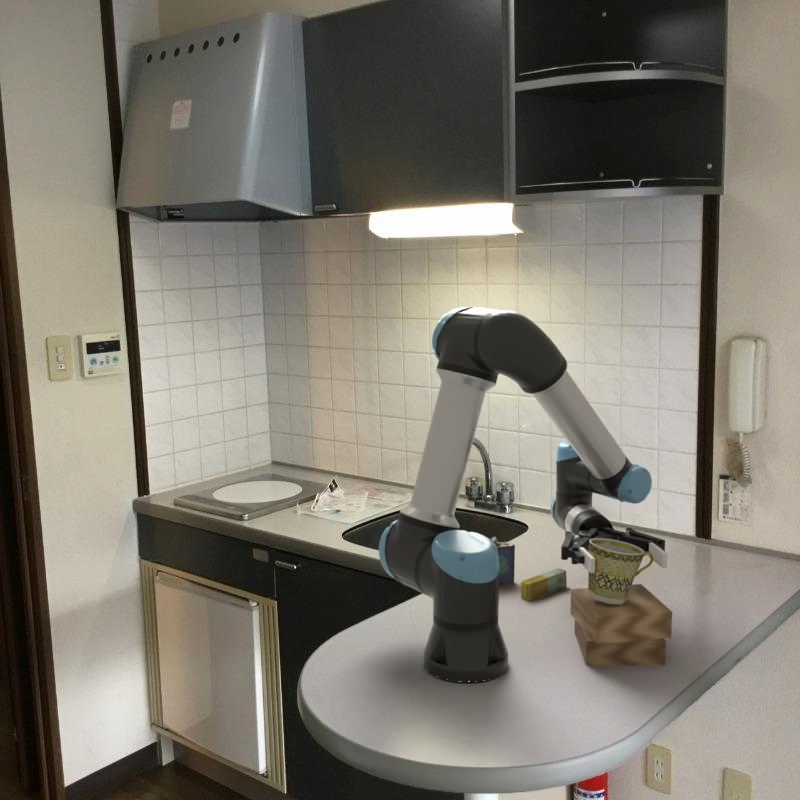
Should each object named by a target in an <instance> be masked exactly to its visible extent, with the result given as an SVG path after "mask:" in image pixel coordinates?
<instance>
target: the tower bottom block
mask: <svg viewBox="0 0 800 800" xmlns="http://www.w3.org/2000/svg"><path fill="white" fill-rule="evenodd" d="M574 636H575V638H576V641H577V644H578V647H579V649H580V652H581V655H582V657H583V660H584V663H585V666H665V665H666V645H667V644H666V643H667V642H666V639H654V640H641V641H630V642H618V643H605V644H596V643H595V642H594V641H593V640H592V639H591V637H590V636H589V635H588V634H587V633H586V632H585V630H584V629H583V628H582V627H581V626H580V624H579V623H578V622H577V621H576V620H575V619H574Z"/></svg>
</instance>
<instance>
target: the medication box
mask: <svg viewBox="0 0 800 800" xmlns="http://www.w3.org/2000/svg"><path fill="white" fill-rule="evenodd" d="M564 589H567V570H565V569H563V568H562V569H561V568H558V567H557V568H554V569H552V570H549V571H547V572H543V573H541V574H538V575H536V576H533V577H529V578H528V579H523V580H521V581H520V598H521V599H523V600H525V601H529V602H531V601H533V600H536V599H539V598H543V597H544V596H547V595H550V594H552V593H556V592H558V591H561V590H564Z"/></svg>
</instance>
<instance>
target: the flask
mask: <svg viewBox="0 0 800 800" xmlns="http://www.w3.org/2000/svg"><path fill="white" fill-rule="evenodd" d="M489 539H490V540H491V541H493V543H494V544H495V545H496V547H497V550H498V559H499V564H500V568H499V586H507V585H513V584H515V568H516V567H515V566H516V565H515V562H516V561H515V559H516V557H515V556H516V552H515V550H516V545H515V544H514V543H512V542H508V541H503V542H502V541H501V542H499V541H498V540H497V537H496V536H492V537H490V538H489Z"/></svg>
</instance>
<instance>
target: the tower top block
mask: <svg viewBox="0 0 800 800" xmlns="http://www.w3.org/2000/svg"><path fill="white" fill-rule="evenodd" d="M570 615H571V616H572V617H573V618H574V621H575V620H576V621H577V622H578V623H579V624H580V626H581V627H582V628H583V629H584V630H585V632H586V633H587V634H588V635H589V636H590V637H591V639H592V640H593V641H594V642H595V643H596V644H605V643H618V642H630V641H641V640H654V639H665V640H666V639H672V628H673V627H672V625H673V623H672V621H673V611H672V610H671V609H670V608H669V607H668V606H667V605H666V604H664V603H663V602H662V601H661V600H659V598H657V596H655V595H654V594H653V593H652V591H650V590H649V589H648V588H646V587H645V586H644V585H643V584H642V583H639V584H638V583H637V584H632V585H631V588H630V590H629V593H628V596H627V599H626V601H625V602H624V603H623V604H621V605H618V604H607V603H604V602H601V601H597V600H594V599H593V598H592V597H590V596H589V594H588V587H581V588H570Z"/></svg>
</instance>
